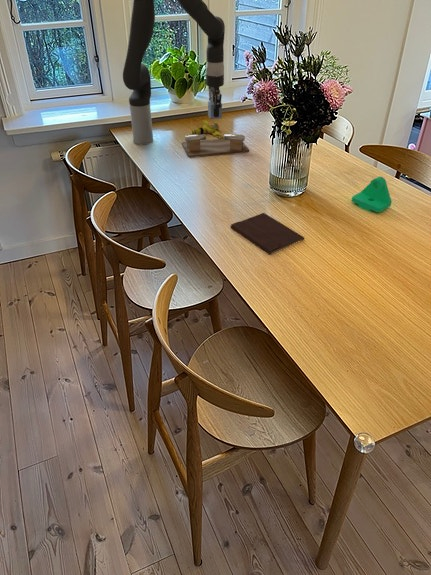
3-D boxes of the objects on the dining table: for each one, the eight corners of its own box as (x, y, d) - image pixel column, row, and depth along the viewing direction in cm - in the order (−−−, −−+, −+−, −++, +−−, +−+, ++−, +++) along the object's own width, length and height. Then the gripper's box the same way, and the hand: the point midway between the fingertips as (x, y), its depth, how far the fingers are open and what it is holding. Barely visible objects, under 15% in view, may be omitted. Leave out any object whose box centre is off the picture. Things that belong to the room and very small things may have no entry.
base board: (181, 144, 209) (181, 131, 205) (239, 139, 214) (239, 126, 211) (188, 157, 197) (188, 144, 193) (249, 151, 202) (249, 138, 199)
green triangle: (349, 203, 165) (355, 177, 159) (361, 197, 169) (367, 171, 163) (378, 215, 158) (385, 188, 152) (389, 208, 162) (397, 182, 156)
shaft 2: (225, 138, 203) (225, 133, 202) (244, 140, 202) (244, 134, 200) (224, 140, 201) (224, 135, 200) (243, 142, 200) (244, 136, 199)
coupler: (208, 115, 198) (207, 101, 195) (218, 114, 199) (219, 100, 195) (210, 119, 194) (210, 104, 191) (221, 118, 195) (221, 104, 192)
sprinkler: (184, 121, 220) (209, 115, 227) (183, 129, 223) (208, 123, 230) (205, 139, 210) (231, 131, 216) (205, 147, 213) (230, 139, 219)
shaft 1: (185, 140, 201) (185, 135, 200) (204, 138, 203) (204, 133, 202) (186, 142, 200) (186, 137, 198) (205, 140, 201) (205, 135, 200)
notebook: (264, 216, 158) (264, 211, 157) (304, 240, 146) (304, 235, 144) (230, 229, 151) (230, 224, 150) (269, 256, 139) (270, 251, 137)
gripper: (202, 69, 190) (202, 110, 201) (210, 77, 179) (210, 120, 190) (219, 68, 192) (219, 109, 202) (228, 76, 181) (227, 119, 192)
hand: (214, 114), depth 196 cm, fingers closed on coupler, 5 cm apart
